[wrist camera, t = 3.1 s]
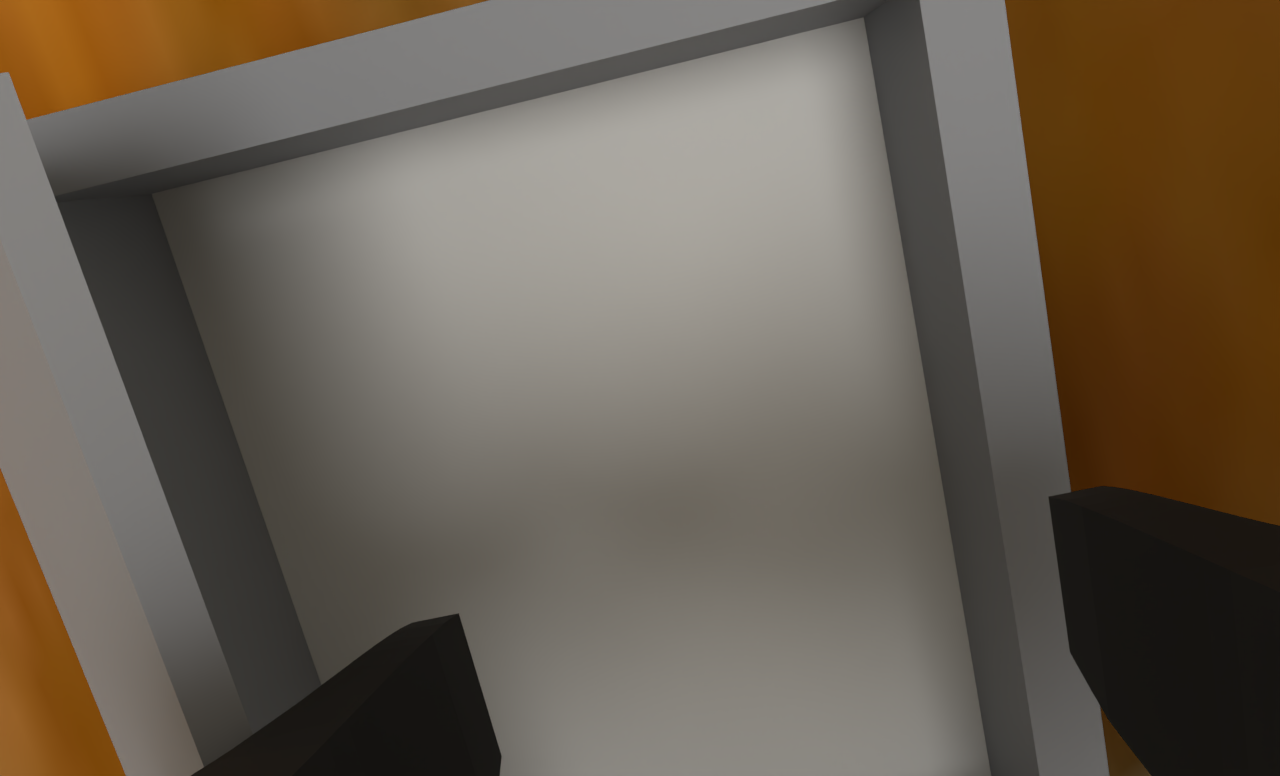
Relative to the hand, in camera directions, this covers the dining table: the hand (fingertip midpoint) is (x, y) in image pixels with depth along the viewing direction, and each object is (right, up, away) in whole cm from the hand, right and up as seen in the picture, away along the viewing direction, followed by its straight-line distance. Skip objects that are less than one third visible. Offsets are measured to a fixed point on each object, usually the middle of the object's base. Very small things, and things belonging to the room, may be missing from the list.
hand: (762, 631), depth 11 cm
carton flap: (-7, -2, +1) cm, 7 cm away
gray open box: (-2, +1, +6) cm, 7 cm away
